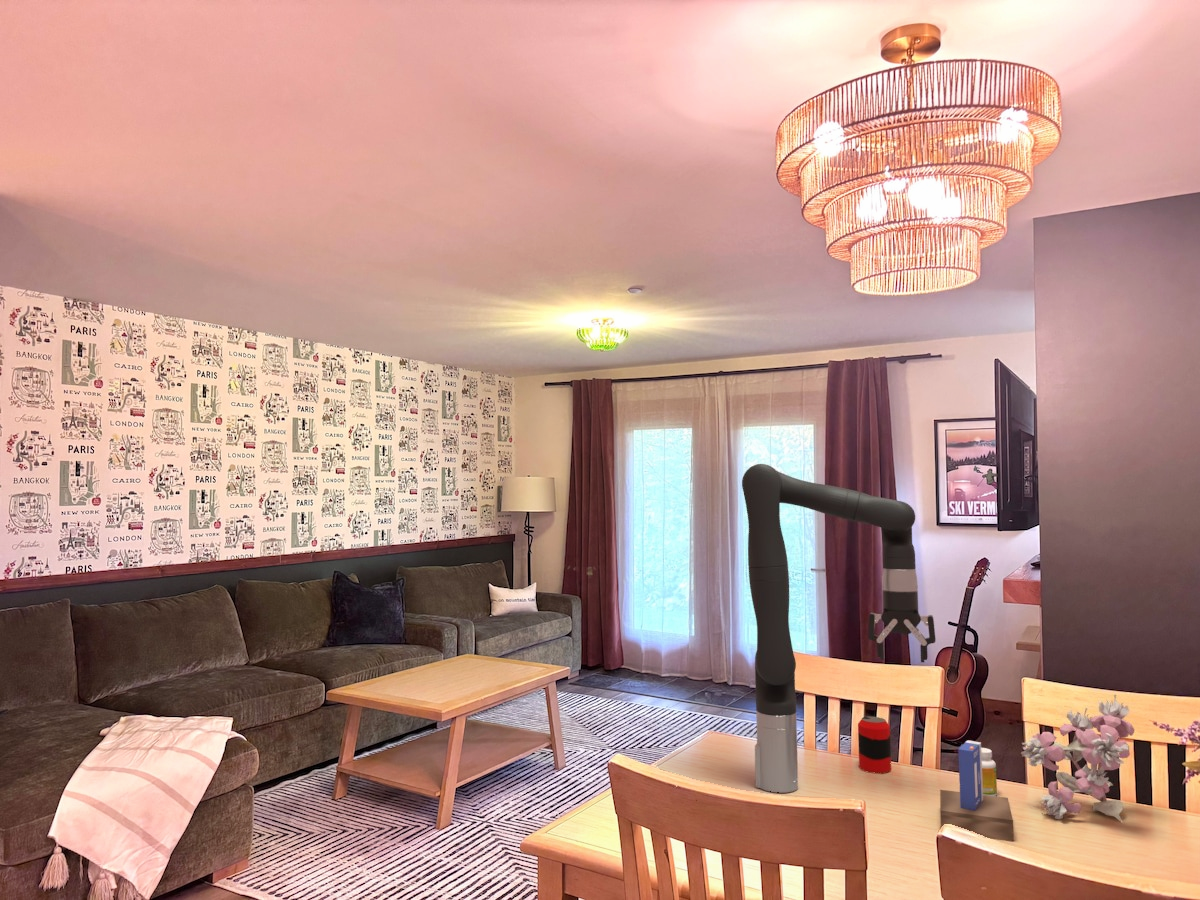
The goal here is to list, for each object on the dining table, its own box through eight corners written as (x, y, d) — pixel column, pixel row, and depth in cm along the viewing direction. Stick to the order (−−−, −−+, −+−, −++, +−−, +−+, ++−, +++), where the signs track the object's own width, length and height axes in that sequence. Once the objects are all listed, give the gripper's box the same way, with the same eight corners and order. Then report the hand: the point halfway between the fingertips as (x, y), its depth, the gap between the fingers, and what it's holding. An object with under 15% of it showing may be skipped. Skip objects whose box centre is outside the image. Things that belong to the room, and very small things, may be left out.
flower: (1017, 778, 185) (1007, 690, 178) (1129, 779, 177) (1124, 687, 170) (1035, 848, 168) (1024, 753, 160) (1160, 853, 160) (1155, 753, 152)
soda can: (868, 762, 203) (866, 714, 204) (896, 768, 198) (895, 719, 198) (853, 768, 198) (852, 719, 199) (882, 776, 192) (880, 725, 193)
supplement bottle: (1000, 798, 177) (998, 754, 178) (974, 797, 178) (972, 752, 179) (993, 790, 182) (991, 746, 183) (968, 788, 183) (966, 745, 184)
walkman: (975, 810, 159) (972, 749, 160) (960, 807, 161) (958, 747, 162) (984, 799, 165) (981, 740, 166) (969, 796, 167) (967, 738, 168)
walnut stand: (941, 831, 159) (940, 810, 159) (940, 808, 171) (940, 789, 171) (1013, 841, 154) (1013, 820, 154) (1008, 817, 166) (1007, 797, 166)
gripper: (933, 588, 182) (936, 660, 181) (868, 586, 188) (870, 655, 186) (933, 591, 175) (936, 666, 174) (865, 589, 181) (868, 661, 180)
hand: (902, 660), depth 180 cm, fingers open, 8 cm apart
